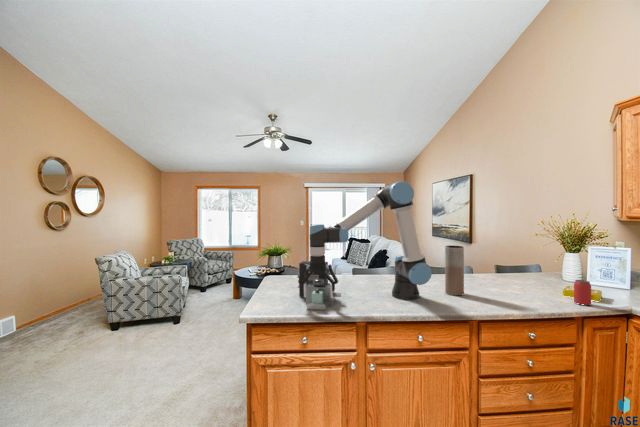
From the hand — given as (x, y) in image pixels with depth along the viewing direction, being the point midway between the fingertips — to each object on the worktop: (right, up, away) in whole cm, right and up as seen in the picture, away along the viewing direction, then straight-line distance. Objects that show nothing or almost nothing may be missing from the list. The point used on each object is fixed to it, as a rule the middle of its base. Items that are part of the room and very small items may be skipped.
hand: (318, 297), depth 145 cm
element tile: (+148, -5, +16) cm, 149 cm away
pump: (0, -4, 0) cm, 5 cm away
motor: (+2, -5, +3) cm, 6 cm away
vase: (+80, -5, +24) cm, 84 cm away
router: (-3, -5, +21) cm, 22 cm away
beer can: (+137, -5, +4) cm, 137 cm away
